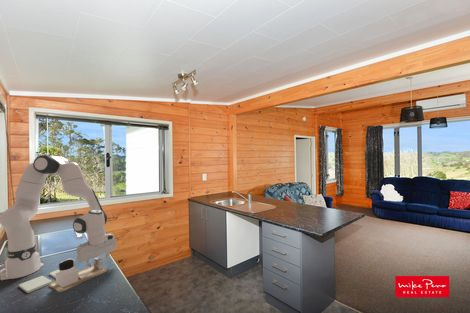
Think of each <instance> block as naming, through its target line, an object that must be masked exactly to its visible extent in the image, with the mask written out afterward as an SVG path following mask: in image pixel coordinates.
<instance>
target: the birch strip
mask: <svg viewBox="0 0 470 313" xmlns="http://www.w3.org/2000/svg"><path fill="white" fill-rule="evenodd" d="M92 259H93V265H91V267H89V268H88V267H86V268H84V269H82V270H79V272H78V278H79V281H76V282H74V283H72V284H70V285H67V286H65V287H63V288H62V287H60V286H58V285H57V284H56V280H55V281H52V283H50V284H49V285H48V286H49V287H50V288H51V289H53V290H55V291H56V292H58V293H63V292H65V291H67V290H70V289H72V288H74V287H76V286H78V285H80V284H82V283H84V282H87V281H89V280H91V279H93V278H96V277H98V276H99V275H102V274H104V273H107V272H108V268H105V267H104V264H103V263H104V260H103V259H104V258H103V259H102V258H99V257H94V258H92Z"/></svg>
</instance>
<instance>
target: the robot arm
mask: <svg viewBox="0 0 470 313" xmlns="http://www.w3.org/2000/svg"><path fill="white" fill-rule="evenodd" d="M50 175H59V177H60V181H61V183H62V184H61V185H62V187H63V191H64V192H65V193H66V194H67V195H68V196H71V197H76V198H81V199H83V200H85V201H86V202H87V204H88V206H89V209H90V210H88V211H87V213H85V214H84V215H80V216H78V217H75V219H74V221H73V222H72V228H73V231H74V232H75V233H77V234H84V233H85V234H86V233H87V235H86V236H87V242H84V243H79V245H78V246H77V247H76V249H75V250H76V261H77V262H79V263H83V262H84V264H86V268H89V267H91V266H92V263H91V262H89V261H90V260H92V259H94V258H98V257H99V256H101V255H104V254H105V256H104V257H103V259H104V260H103V261H107V260H109V256H110V255H111V252H113V251H114V250H116V249H117V241H116V239H115V234H112V233H108V232H106V230H105V227H106V224H107V222H108V216H107V214H106V212H105V211H104V210H103V208H102V205H101V203H100V201H99V199H98V197H97V194H96V192H95V191H94V188H92V187H90V185H88V183H87V181H86V180H85V176H84V172H83V170H82V168H81V167H80V165H79V163H77V162H72V161H71V160H70V159H69V158H67V157H65V156H60V155H50V154H42V155H39V156H37V157H36V158H35V159H34V160H33V161H32V162H31V163H29V164H28V165H27V166H26V168H25V169H24V170H23V172H22V175H21V177H20V178H19V181H18V184H17V187H16V190H15V193H14V195H15V201H14V204H13V206H11V207H9V208H7V209H5V211H3V212H2V213H1V214H0V225H1V226H2V227H3V228H4V231H5V233H6V236H7V244H8V245H7V247H8V248H7V250H8V251H7V254H6V255H7V256H6V257H7V258H6V259H5V261H4V264H1V265H0V281H6V280H13V279H19V278H23V277H26V276H30V275H32V274H34V273H36V272H38V270H40V269H41V268H42V267H43V266H44V265H45V264H44V263H42V262H41V257H40V255H41V254H40V252H38V251H37V246H36V244H35V231H34V230H33V229H32V226H31V223H30V221H31V220H32V219H33V218H35V216H36V215H37V213H38V207H39V201H40V197H41V194H42V191H43V188H44V185H45V182H46V180H47V177H48V176H50Z"/></svg>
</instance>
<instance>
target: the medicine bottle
mask: <svg viewBox="0 0 470 313" xmlns="http://www.w3.org/2000/svg"><path fill="white" fill-rule="evenodd" d="M67 259H68V260H67ZM67 259H65V260H63V261H60V262H59V264H58V268H59V271H58V272H56V273H55V274H56V278H55V281H56V284H57V285H58V286H60V287H62V288H63V287H65V286H67V285H70V284H72V283H74V282H76V281H79V278H78V270H79V269H78V268H74V260H75V259H73V260H71V259H72V258H71V259H70V258H67Z"/></svg>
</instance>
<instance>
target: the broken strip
mask: <svg viewBox="0 0 470 313" xmlns="http://www.w3.org/2000/svg"><path fill="white" fill-rule="evenodd" d="M68 259H71V260H74V268H76V260H75V259H73V258H70V257H69V258H67V259H66V260H68ZM76 269H77V268H76ZM58 271H59V269H56V270H53V271H51V272H49V276H50V277H52V278H54V279H56V274H55V273H56V272H58ZM79 271H80V269H78V272H79ZM52 282H53V280H51V279H49V278H47V277H46V276H44V275H40V276H38V277H35V278H31V279H30V280H27V281H25V282H22V283H20V284H18V287H19V288H20V289H21V290H23V291H24V292H26V294H29V293H32V292H35V291H37V290H39V289H43V288H44V287H47V286H49V284H50V283H52Z"/></svg>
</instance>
